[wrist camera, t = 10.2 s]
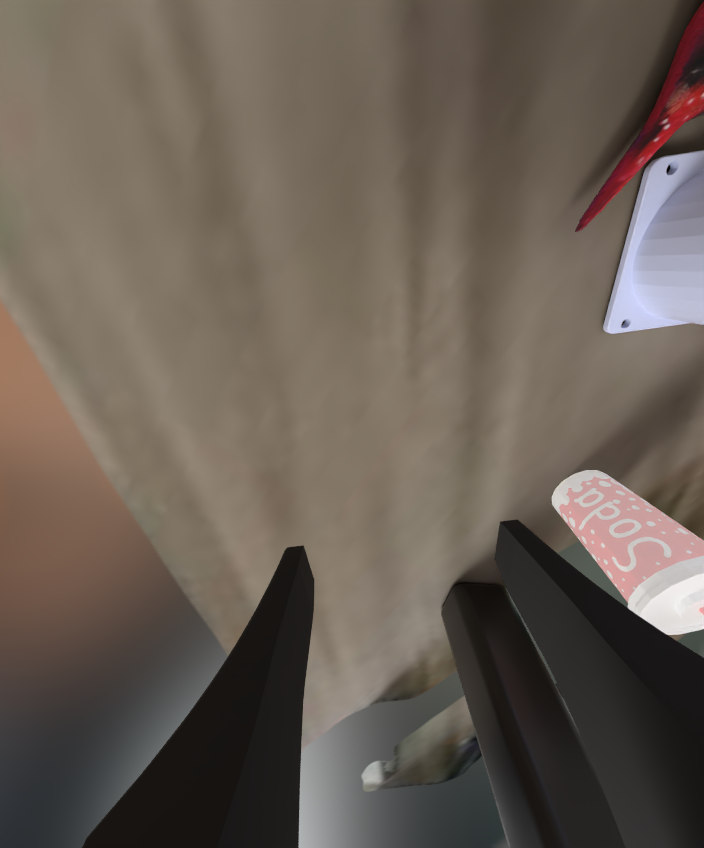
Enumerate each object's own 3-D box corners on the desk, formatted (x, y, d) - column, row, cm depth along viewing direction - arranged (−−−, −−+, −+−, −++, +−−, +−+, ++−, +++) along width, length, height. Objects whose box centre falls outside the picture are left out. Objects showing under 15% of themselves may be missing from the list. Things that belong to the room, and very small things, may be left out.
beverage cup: (613, 448, 22) (963, 682, 10) (626, 499, 25) (915, 737, 12) (532, 484, 23) (748, 730, 11) (552, 530, 26) (745, 770, 14)
